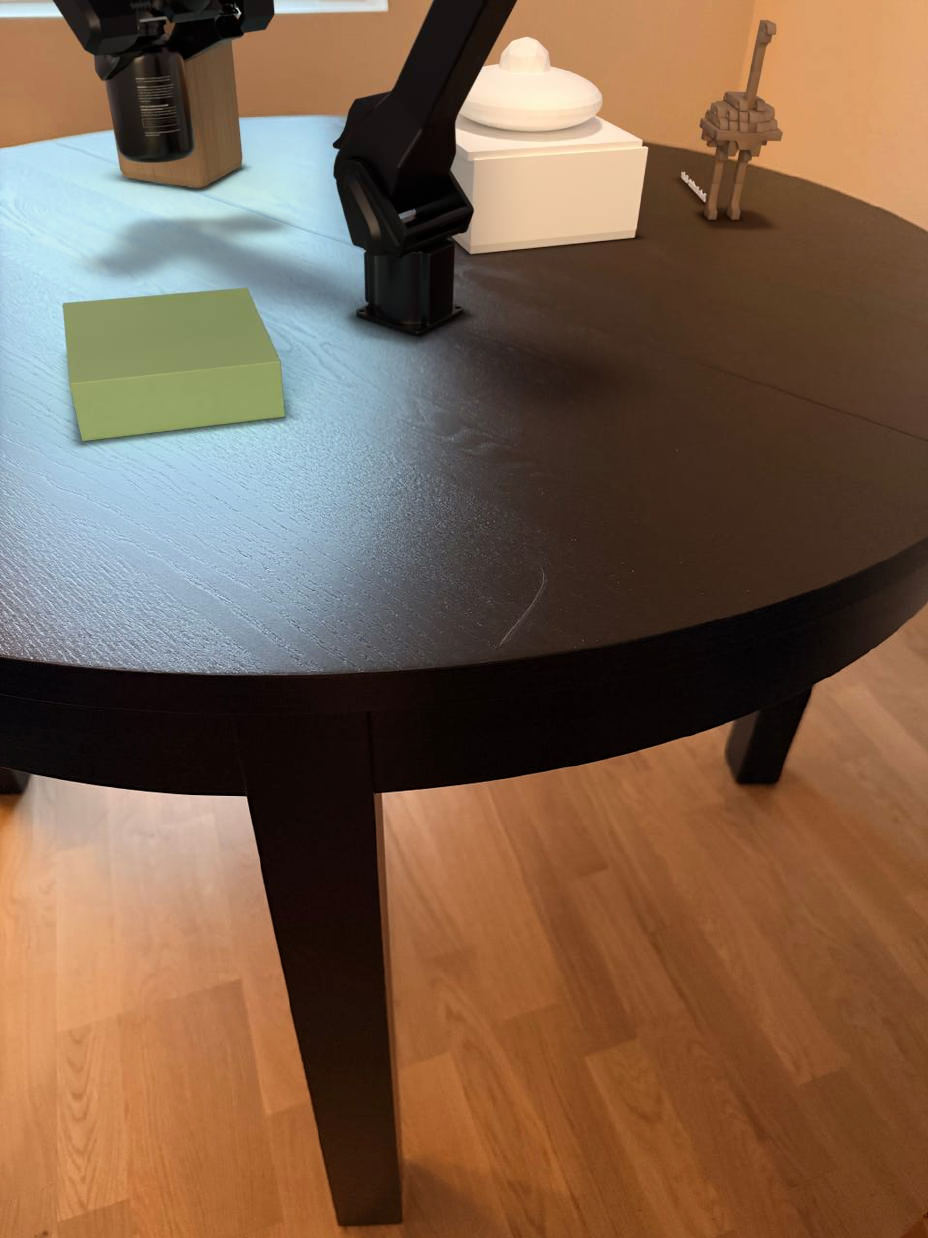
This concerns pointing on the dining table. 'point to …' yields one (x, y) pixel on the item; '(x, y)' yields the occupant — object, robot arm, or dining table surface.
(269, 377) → the green block
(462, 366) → the dining table surface
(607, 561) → the dining table surface
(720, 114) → the ostrich figurine
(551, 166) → the butter dish
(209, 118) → the wooden block
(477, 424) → the dining table surface
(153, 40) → the supplement bottle
